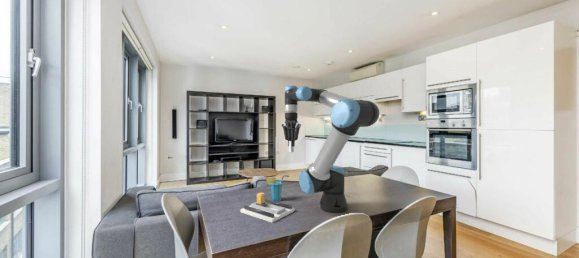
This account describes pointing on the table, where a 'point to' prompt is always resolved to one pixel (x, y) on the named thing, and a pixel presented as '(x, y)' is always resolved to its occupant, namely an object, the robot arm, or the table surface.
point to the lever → (261, 199)
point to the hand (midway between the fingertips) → (291, 152)
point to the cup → (275, 188)
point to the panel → (268, 210)
